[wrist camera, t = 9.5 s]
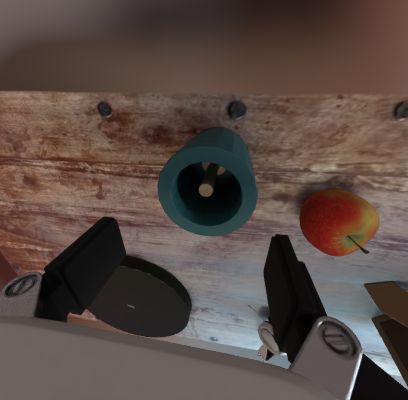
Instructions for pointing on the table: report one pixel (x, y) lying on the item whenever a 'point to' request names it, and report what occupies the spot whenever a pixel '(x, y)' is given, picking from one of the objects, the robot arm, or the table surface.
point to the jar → (223, 189)
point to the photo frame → (392, 321)
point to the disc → (143, 300)
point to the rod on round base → (210, 177)
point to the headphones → (267, 341)
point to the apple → (338, 221)
